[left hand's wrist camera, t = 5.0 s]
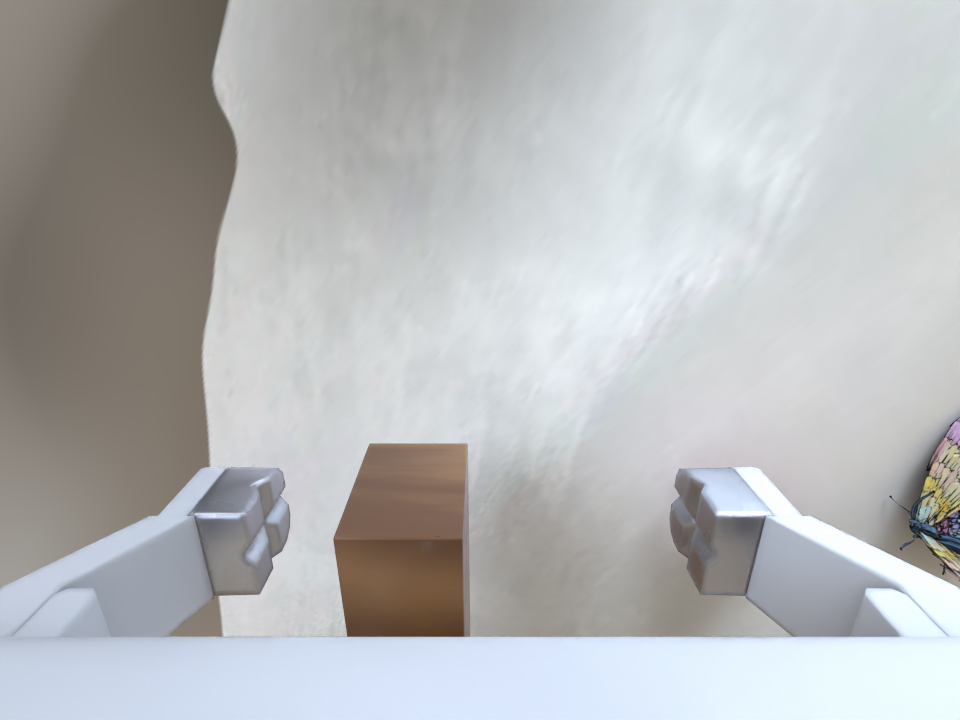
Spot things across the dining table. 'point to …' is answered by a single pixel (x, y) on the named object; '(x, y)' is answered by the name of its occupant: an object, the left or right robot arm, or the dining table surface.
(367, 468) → the box
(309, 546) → the dining table surface
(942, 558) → the butterfly
